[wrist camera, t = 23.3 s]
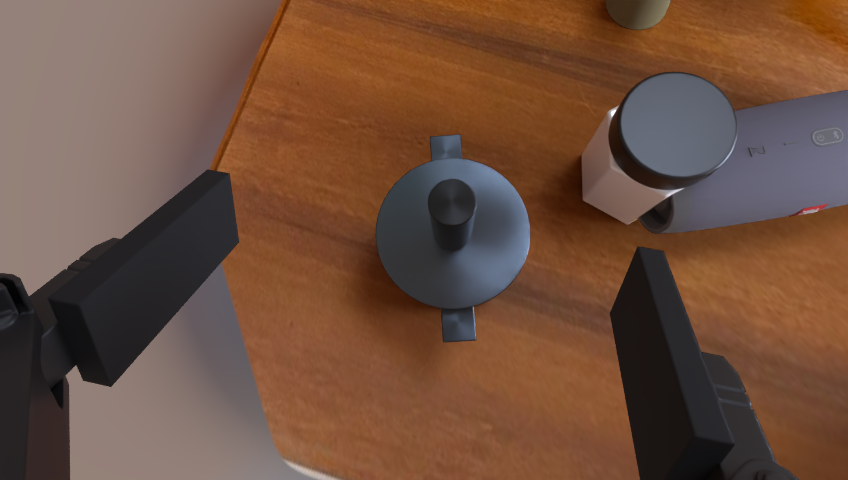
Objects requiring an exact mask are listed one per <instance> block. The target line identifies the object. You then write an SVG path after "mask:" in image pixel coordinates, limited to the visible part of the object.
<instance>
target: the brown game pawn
mask: <svg viewBox="0 0 848 480" xmlns="http://www.w3.org/2000/svg"><path fill="white" fill-rule="evenodd" d="M670 2H671V0H606V7H607V10H608V13H609V15H610V16H611V17H612V19H613V20H614V21H615V22H617V23H618V24H620V25H621V26H623V27H626V28H629V29H637V30H642V29H646V28H650V27H652V26H654V25H655V24H657V23H659V21H660V20H661V19H662V18H663V17H664V15H665V13H666V11H667V9H668V6H669V4H670Z"/></svg>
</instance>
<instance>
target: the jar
mask: <svg viewBox="0 0 848 480" xmlns="http://www.w3.org/2000/svg"><path fill="white" fill-rule="evenodd" d="M737 135H738V123H737V118H736V114H735V111H734V108H733V106H732V104H731V103H730V101H729V99H728V98H727V97H726V95H725V94H724V93H723V92H722V91H721V90H720V89H719V88H718V87H717V86H715V85H714V84H713V83H711V82H709V81H708V80H706V79H704V78H702V77H699V76H697V75H693V74H689V73H684V72H665V73H660V74H656V75H653V76H650V77H648V78H646V79H644V80H642V81H641V82H639V83H638V84H636V85H635V86H634V87H633V88H632V89H631V90H630V91H629V92H628V93H627V95H626V96H625V97H624V99H623V100H622V102H621V104H620V105H619V106H617V107H615V108H613V109H611V110H610V111H608V113H607V114H606V116H605V118H604V119H603V121H602V122H601V124H600V126H599V127H598V129H597V130H596V132H595V134H594V135H593V137H592V138H591V140H590V142H589V143H588V145H587V146H586V148H585V150H584V151H583V153H582V194H583V201H585V202H587V203H588V204H590V205H592V206H594V207H596V208H598V209H599V210H601V211H603V212H605V213H607V214H608V215H610V216H612V217H614V218H616V219H618V220H619V221H621V222H623V223H625V224H630V223H632V222H634V221H636V220H638V219H639V218H640V217H641V216H643V215H645V214H647V213H648V212H650V211H652V210H654V208H655V207H657V206H658V205H660V204H661V203H663V202H664V201H666V200H667V199H669V198H670V197H671V195H673V194H675V193H676V192H678V191H680V190H682V189H684V188H686V187H689V186H691V185H693V184H695V183H697V182H699V181H700V180H702V179H705V178H707V177H708V176H710V175H711V174H713V173H714V172H715V171H716V170H717V169H718V168H719V167H720V166H722V165H723V164H724V163H725V161H726V160H727V159H728V158H729V156H730V155H731V153H732V151H733V149H734V147H735V144H736V141H737Z"/></svg>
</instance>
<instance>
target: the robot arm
mask: <svg viewBox="0 0 848 480" xmlns="http://www.w3.org/2000/svg"><path fill="white" fill-rule="evenodd" d="M238 243H239V238H238V231H237V224H236V217H235V209H234V202H233V195H232V188H231V180H230V173H224V172H219V171H213V170H206V171H205V172H204V173H203V174H201V175H200V176H199V177H198V178H196V179H195V180H194V181H193V182H192V183H190V184H189V185H188V186H187V187H185V188H184V189H183V190H182V191H180V192H179V193H178V194H177V195H175V196H174V197H173V198H172V199H170V200H169V201H168V202H167V203H165V204H164V205H163V206H162V207H160V208H159V209H158V210H157V211H155V212H154V213H153V214H152V215H150V216H149V217H148V218H147V219H145V220H144V221H143V222H142V223H141V224H139V225H138V226H137V227H135V228H134V229H133V230H132V231H131V232H129V233H128V234H127V235H125V236H124V237H123V238H122V239H117V238H112V239H110V240H108V241H105V242H103V243H101V244H98V245H96V246H94V247H93V248H91V249H90V250H89V251H88V252H86V253H85V254H84V255H82V256H81V257H80V259H79V260H76V261H75V262H73V263H72V264H71V265H69V266H68V268H67V270H66V269H65V270H63V271H62V272H60V273H59V274H58V275H56V276H55V277H54V278H53V279H51V280H50V281H49V282H47V283H46V284H45V285H43V286H42V287H41V288H40V289H38V290H37V291H36V292H34V293H33V294H32V295H30V296H28V294H27V292H26V290H25V288H24V285H23V283H22V281H21V279H20V278H19V277H17V276H15V275H12V274H5V273H0V480H70V445H69V443H70V440H69V439H70V438H69V384H68V381H67V378H66V376H65V375H66V374H67V373H68V372H69V371H70V370H71V369H72V368H73V367H74V366H75V365H77V367H78V369H79V372H80V374H81V377H82V379H83V381H87V382H92V383H96V384H101V385H105V386H109V387H111V386H112V385H113V384H114V383H115V382H116V381H117V380H118V379H119V377H120V376H121V375H122V374H123V373H124V372H125V371H126V369H127V368H128V367H129V366H130V365H131V364H132V363H133V362H134V360H135V359H136V358H137V357H138V356H139V355H140V354H141V353H142V351H143V350H144V349H145V348H146V347H147V346H148V345H149V343H150V342H151V341H152V340H153V339H154V338H155V337H156V336H157V334H158V333H159V332H160V331H161V330H162V329H163V328H164V326H165V325H166V324H167V323H168V322H169V321H170V320H171V319H172V317H173V316H174V315H175V314H176V313H177V312H178V311H179V309H180V308H181V307H182V306H183V305H184V304H185V303H186V302H187V300H188V299H189V298H190V297H191V296H192V295H193V294H194V292H195V291H196V290H197V289H198V288H199V287H200V286H201V284H202V283H203V282H204V281H205V280H206V279H207V278H208V277H209V275H210V274H211V273H212V272H213V271H214V270H215V269H216V267H217V266H218V265H219V264H220V263H221V262H222V261H223V260H224V259H225V257H226V256H227V255H228V254H229V253H230V252H231V251H232V249H233V248H234V247H235V246H236V245H237V244H238ZM610 317H611V322H612V328H613V333H614V339H615V344H616V349H617V355H618V360H619V366H620V371H621V377H622V382H623V388H624V393H625V399H626V404H627V410H628V415H629V421H630V426H631V432H632V437H633V443H634V448H635V454H636V459H637V465H638V470H639V476H640V480H799V479H798V478H797V477H796V476H794V475H793V474H792V473H791V472H790V471H789V470H787V469H785V468H784V467H782V466H780V465H778V464H777V462H776V460H775V457H774V455H773V453H772V450H771V448H770V446H769V443H768V441H767V439H766V436H765V434H764V432H763V430H762V427H761V425H760V423H759V420H758V418H757V416H756V413H755V411H754V409H752V404H751V402H750V400H749V397H748V395H746V394H745V392H746V390H745V388H744V386H743V383H742V381H741V379H740V376H739V374H738V373H737V372H736V370H735V369H734V368H733V367H732V366H731V365H730V364H729V362H728V361H727V360H726V359H725V358H724V357H723V356H719V355H714V354H709V353H704V352H701V350H700V348H699V345H698V342H697V340H696V337H695V334H694V331H693V329H692V326H691V323H690V321H689V318H688V315H687V313H686V310H685V307H684V305H683V302H682V299H681V296H680V294H679V291H678V288H677V286H676V283H675V280H674V278H673V275H672V272H671V270H670V267H669V264H668V261H667V259H666V256H665V253H664V251H661V250H655V249H650V248H644V247H637V249H636V252H635V254H634V257H633V259H632V261H631V264H630V266H629V269H628V271H627V273H626V276H625V278H624V281H623V283H622V286H621V288H620V290H619V293H618V295H617V298H616V300H615V302H614V305H613V307H612V310H611V312H610Z"/></svg>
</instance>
